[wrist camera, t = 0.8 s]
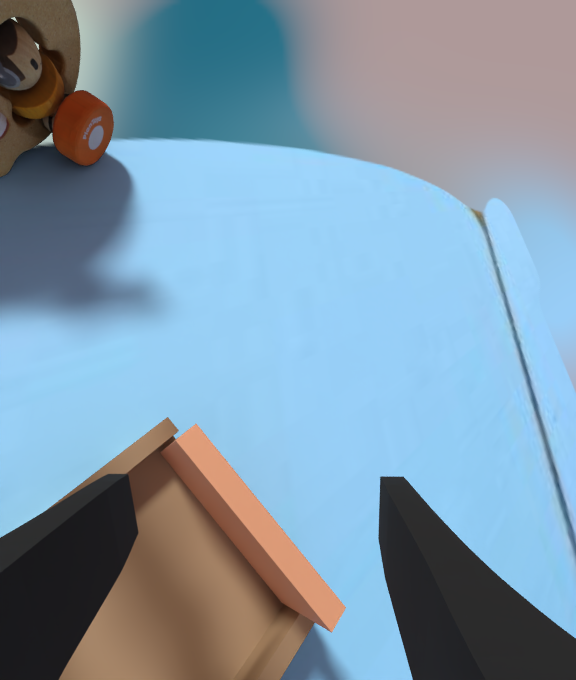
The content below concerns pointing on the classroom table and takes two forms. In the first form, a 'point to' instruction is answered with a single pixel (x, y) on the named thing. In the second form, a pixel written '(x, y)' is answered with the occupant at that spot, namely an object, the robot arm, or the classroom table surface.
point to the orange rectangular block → (252, 528)
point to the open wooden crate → (182, 591)
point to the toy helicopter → (46, 85)
